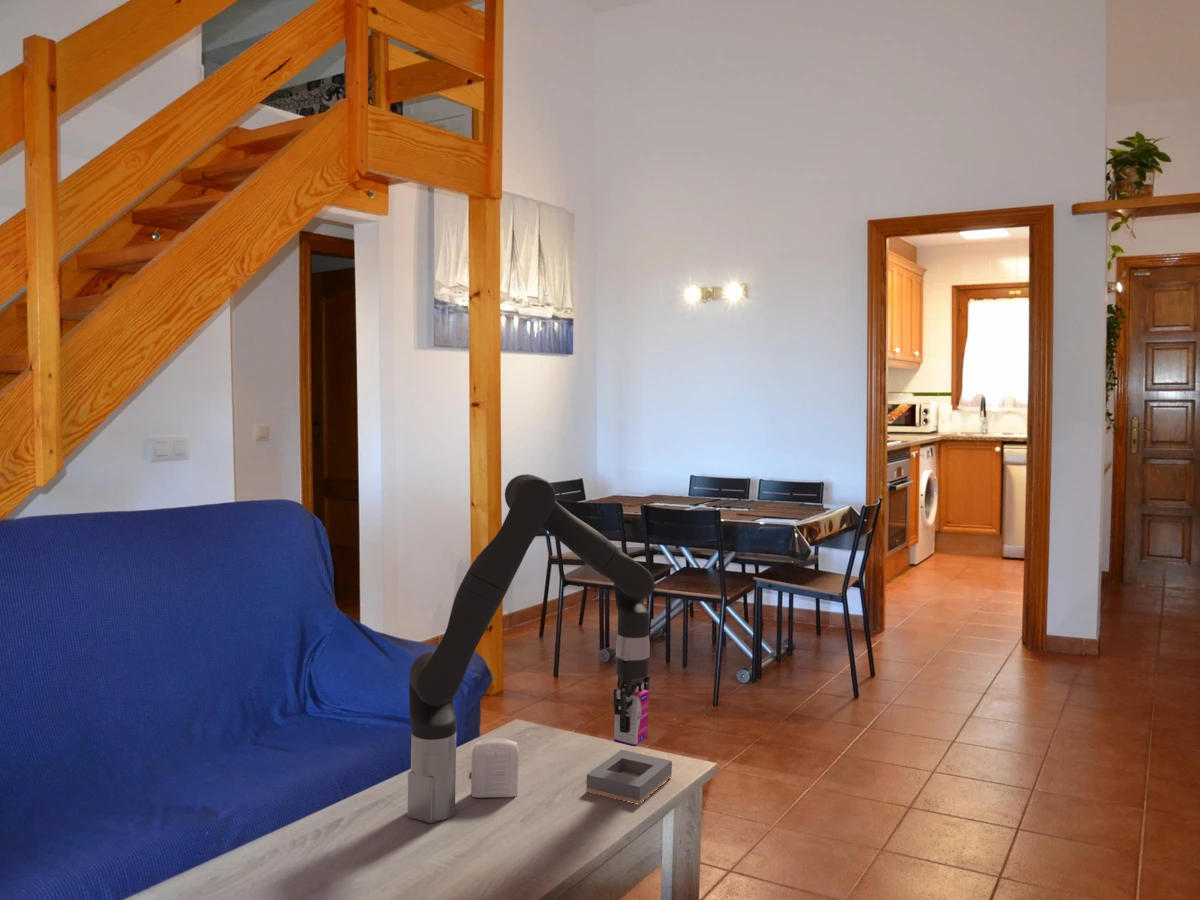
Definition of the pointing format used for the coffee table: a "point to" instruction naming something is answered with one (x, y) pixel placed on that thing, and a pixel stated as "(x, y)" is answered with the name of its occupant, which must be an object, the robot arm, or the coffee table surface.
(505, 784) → the photo printer
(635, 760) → the plate
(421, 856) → the coffee table surface
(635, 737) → the supplement box
